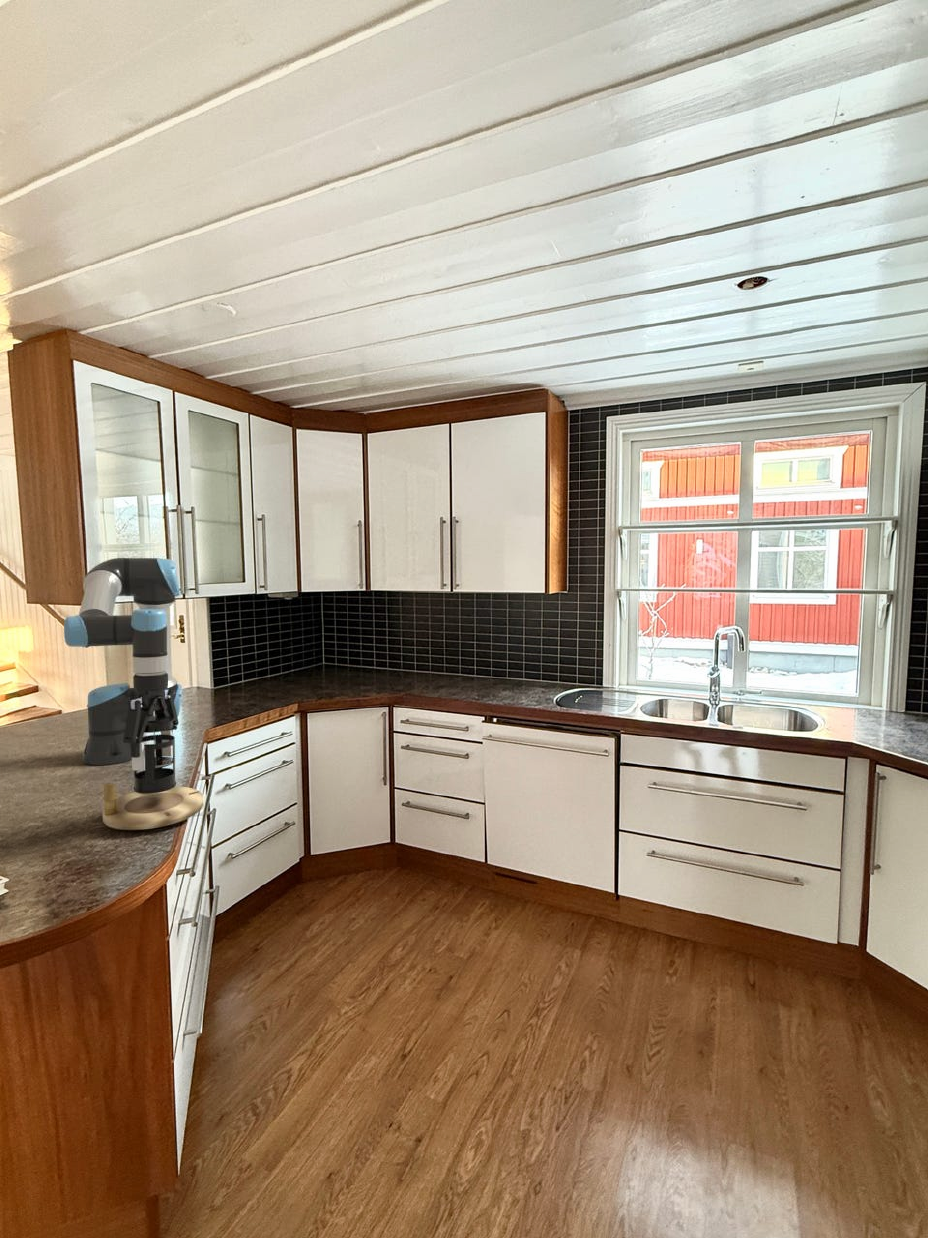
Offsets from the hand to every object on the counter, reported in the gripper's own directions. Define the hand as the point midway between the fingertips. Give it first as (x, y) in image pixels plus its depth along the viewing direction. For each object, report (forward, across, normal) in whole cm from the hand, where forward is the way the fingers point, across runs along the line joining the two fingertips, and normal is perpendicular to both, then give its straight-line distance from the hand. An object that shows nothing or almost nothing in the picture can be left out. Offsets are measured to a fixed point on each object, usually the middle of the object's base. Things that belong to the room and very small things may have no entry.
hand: (153, 762), depth 147 cm
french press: (+7, 0, 0) cm, 7 cm away
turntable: (+12, 0, 0) cm, 12 cm away
